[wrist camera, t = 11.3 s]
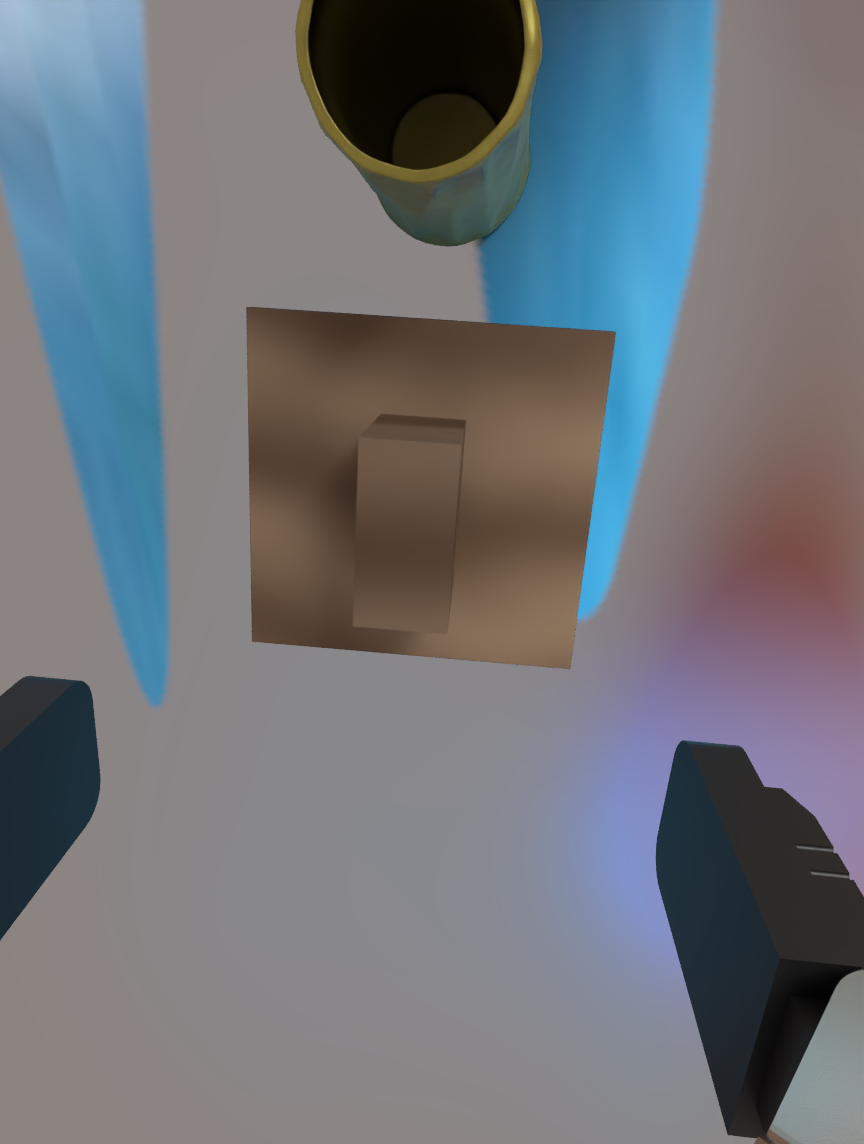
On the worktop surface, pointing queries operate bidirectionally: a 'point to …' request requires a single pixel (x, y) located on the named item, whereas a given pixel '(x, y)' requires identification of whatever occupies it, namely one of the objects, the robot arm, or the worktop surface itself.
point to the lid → (421, 483)
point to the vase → (427, 104)
